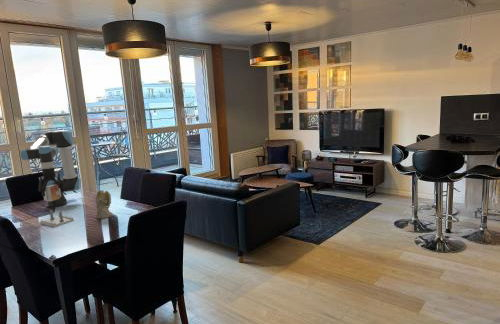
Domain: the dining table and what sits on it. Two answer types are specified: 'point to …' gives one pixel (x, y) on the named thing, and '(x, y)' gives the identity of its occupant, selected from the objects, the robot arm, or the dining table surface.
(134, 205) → the dining table surface
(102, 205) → the figurine
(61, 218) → the pin tray
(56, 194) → the small box
